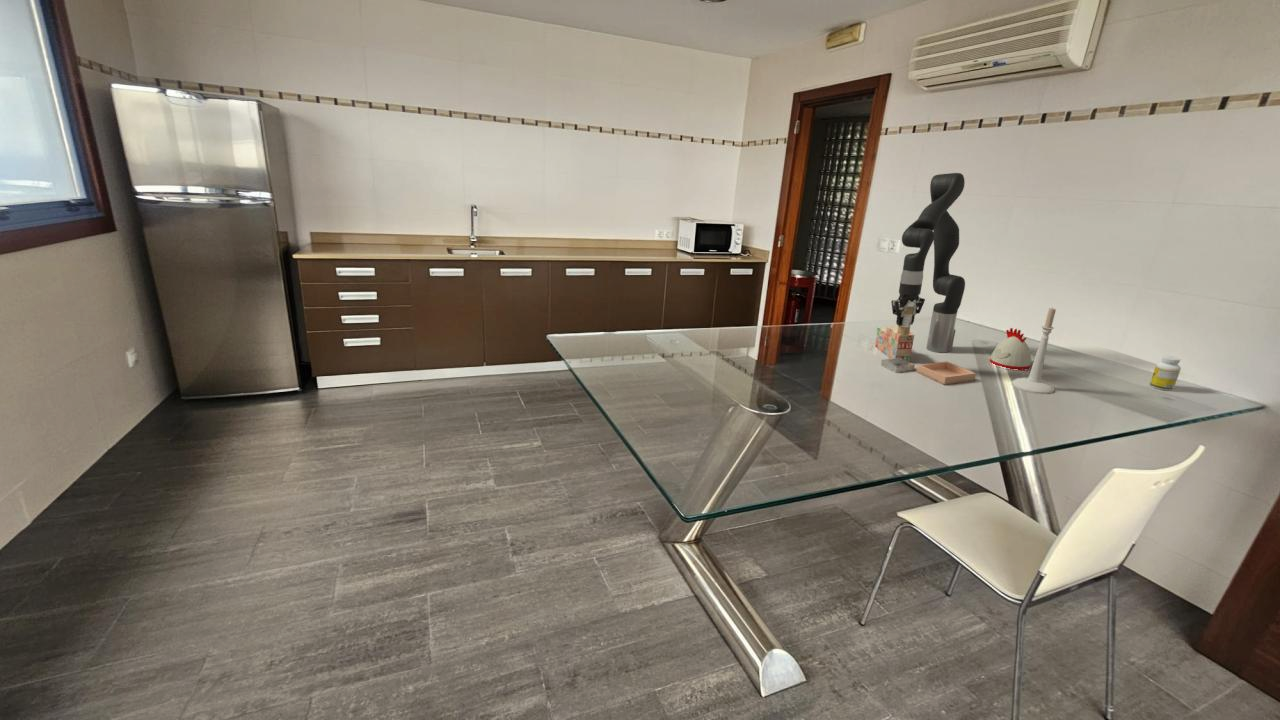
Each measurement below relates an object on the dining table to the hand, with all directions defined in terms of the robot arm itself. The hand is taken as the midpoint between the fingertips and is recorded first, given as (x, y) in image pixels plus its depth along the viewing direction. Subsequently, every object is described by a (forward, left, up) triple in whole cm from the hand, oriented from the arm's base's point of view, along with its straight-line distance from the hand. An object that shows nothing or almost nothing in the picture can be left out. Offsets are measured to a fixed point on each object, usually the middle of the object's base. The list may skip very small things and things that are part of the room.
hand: (904, 324), depth 210 cm
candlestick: (-33, +31, -18) cm, 49 cm away
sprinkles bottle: (0, 0, -4) cm, 4 cm away
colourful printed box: (-9, -15, -19) cm, 26 cm away
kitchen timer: (-46, +10, -19) cm, 50 cm away
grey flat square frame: (0, 0, -18) cm, 18 cm away
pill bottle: (-76, +45, -18) cm, 90 cm away
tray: (-11, +13, -18) cm, 25 cm away
